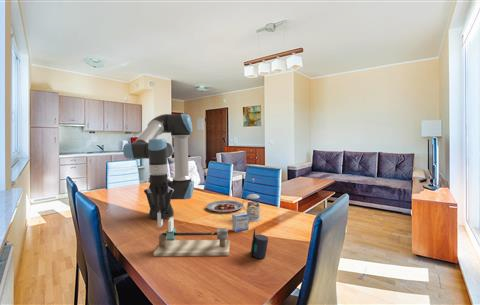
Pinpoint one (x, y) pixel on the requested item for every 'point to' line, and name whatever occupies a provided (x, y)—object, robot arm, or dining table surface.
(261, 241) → the speaker
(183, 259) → the dining table surface
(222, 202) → the ceramic plate
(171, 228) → the white slab teal box
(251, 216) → the french press
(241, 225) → the medicine box
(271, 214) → the dining table surface
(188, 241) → the cord rig
